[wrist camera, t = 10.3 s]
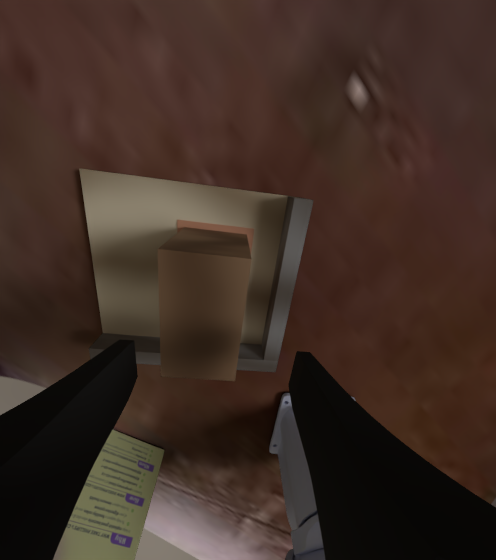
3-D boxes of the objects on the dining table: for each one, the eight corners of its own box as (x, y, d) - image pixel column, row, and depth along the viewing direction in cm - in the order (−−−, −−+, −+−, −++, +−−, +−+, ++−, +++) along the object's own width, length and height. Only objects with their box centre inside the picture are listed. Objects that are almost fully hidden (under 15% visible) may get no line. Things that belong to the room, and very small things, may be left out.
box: (58, 442, 26) (-74, 633, 15) (79, 413, 24) (-53, 603, 13) (142, 472, 28) (84, 651, 18) (166, 448, 27) (117, 628, 16)
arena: (271, 351, 22) (275, 372, 19) (108, 340, 21) (91, 360, 18) (302, 197, 17) (313, 200, 14) (85, 169, 15) (56, 166, 13)
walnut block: (246, 234, 17) (251, 259, 11) (235, 326, 20) (234, 380, 14) (184, 227, 16) (157, 248, 11) (182, 321, 19) (160, 376, 14)
